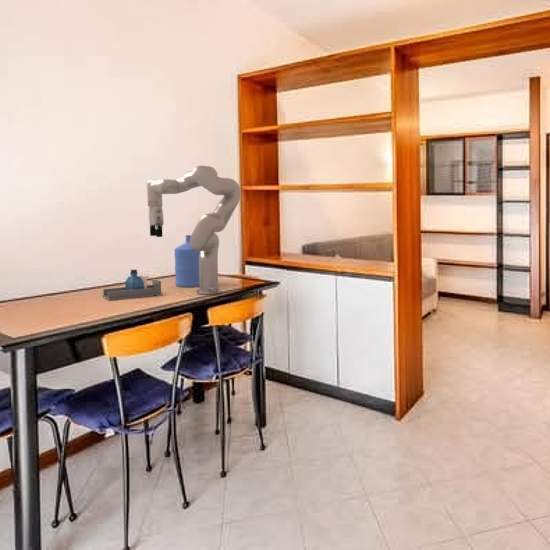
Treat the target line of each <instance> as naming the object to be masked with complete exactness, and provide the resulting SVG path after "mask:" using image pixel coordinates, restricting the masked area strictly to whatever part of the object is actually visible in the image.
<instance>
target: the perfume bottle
mask: <svg viewBox="0 0 550 550" xmlns="http://www.w3.org/2000/svg"><path fill="white" fill-rule="evenodd" d="M124 282H125V283H124V285H125V287H126V290H132V289H143V288H144V287H143V280H142V279H141V277H140V275H138V269H130V276H127V278H126V280H125V281H124Z"/></svg>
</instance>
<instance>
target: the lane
mask: <svg viewBox="0 0 550 550" xmlns="http://www.w3.org/2000/svg"><path fill="white" fill-rule="evenodd" d="M151 280H152V284H147V288H143V289H132V290H126V286H124V287H123V286H122V287H111V288H103V289H102V297H103V298H104V297H105V298H104V299H106V300H107V299H108V301H109V300H110V301H117V299H120V300H127V299H126V298H130V299H136V298H135V297H140V298H146V297H145V296H150V297H155V296H154V295H160V296H163V292H162V280H161V281H160V280H159V279H155V278H152V279H151Z"/></svg>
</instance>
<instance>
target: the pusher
mask: <svg viewBox="0 0 550 550" xmlns="http://www.w3.org/2000/svg"><path fill="white" fill-rule="evenodd" d="M139 277H141V279H142V280H143V287H144V288H147V285H148V281H147V279H149V278H150V276H148V275H146V274H139Z"/></svg>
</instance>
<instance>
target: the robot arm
mask: <svg viewBox="0 0 550 550" xmlns="http://www.w3.org/2000/svg"><path fill="white" fill-rule="evenodd" d="M198 187H202V188H203V189H205V190H207V191H208V192H209V193H212V194H213V195H215V196H223V197H222V198H221V199H220V201H219V202H218V203H217V205H216V207H215V209H214V211H213V212H211V213H205V214H203V215H202V216H201V217H200V218H199V219H198V222H196V223H197V224H196V225H195V227H194V229H193V231H192V233H191V237H190V246H191V248H192V249H193V250H195V251H200V254H199V286H198V287H199V289H197V290H196V294H198V293H199V295H214V294H213V293H218V294H220V293H219V292H221V293H222V289H220V288H219V268H218V267H219V263H218V262H219V259H218V258H219V257H218V255H219V246H220V238H219V236H218V234H217V233H220V232H222V231H224V229H225V228H226V227H227V225H228V223H229V220H230V219H231V217H232V216H233V214H234V211H235V210H236V209H237V206H238V205H239V202H240V200H241V197H242V192H241V191H242V190H241V187H240V185H239V183H238V182H237V181H236V180H235V179H233V178H230V177H219V176H218V171H217V170H216V169H215V168H214V167H212V166H210V165H209V166H208V165H198V166H195V167H194V168H193V170H190V171H186V172H185V173H184V175H183V177H180V178H179V177H178V178H176V179H169V178H164V179H163V178H162V179H149V180H147V182H146V190H147V191H146V192H147V196H146V197H147V207H149V208H148V222H149V223H148V224H149V235H150V237H156V238H160V237H161V238H162V237H163V226H164V223H165V221H164V213H163V212H164V211H163V195H176V194H180V193H184V192H188V191H190V190H192V189H194V188H198Z"/></svg>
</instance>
